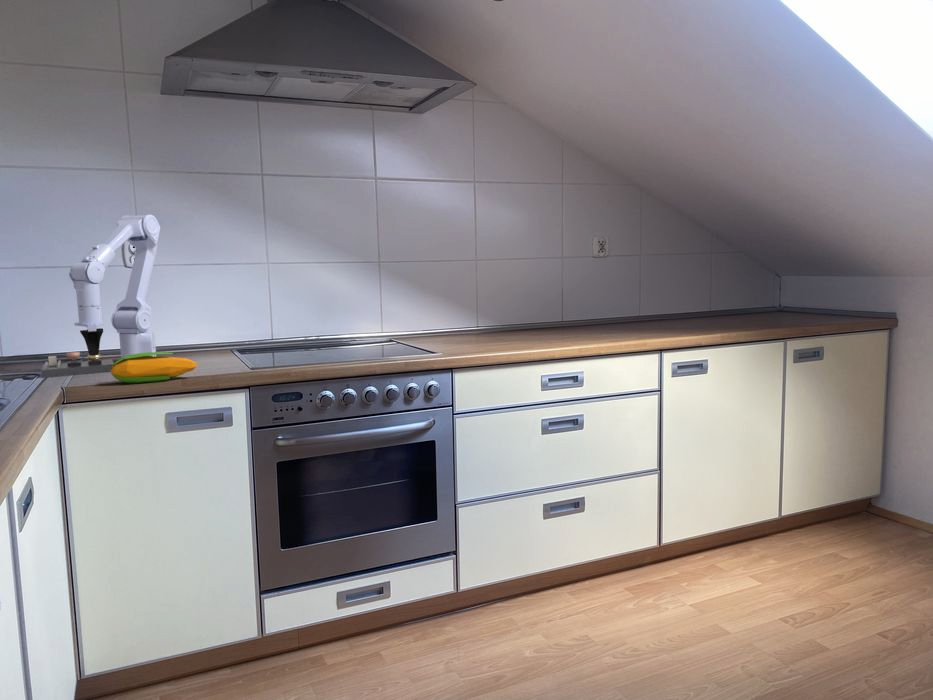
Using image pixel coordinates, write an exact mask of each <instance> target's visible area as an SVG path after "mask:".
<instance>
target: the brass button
mask: <svg viewBox="0 0 933 700" xmlns="http://www.w3.org/2000/svg"><path fill="white" fill-rule="evenodd" d="M101 356H102V355H101V353H99V354H98V355H91V356H90V355H89V354H87V361H88V360H93V361H96V360H98V359H101V360H102V357H101Z"/></svg>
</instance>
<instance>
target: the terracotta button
mask: <svg viewBox="0 0 933 700" xmlns="http://www.w3.org/2000/svg"><path fill="white" fill-rule="evenodd" d="M65 354H66V358H68V359H71V361H77V360H76V359H77V358H80V357H81V352H80V351H70V352H69V351H68V352H66V353H65Z"/></svg>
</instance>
